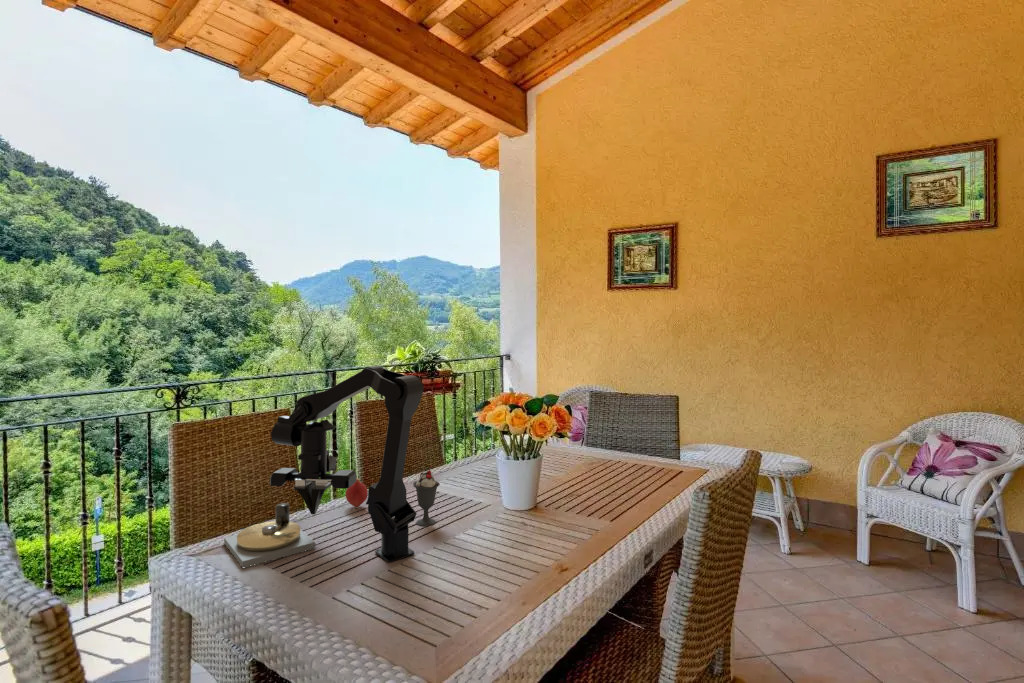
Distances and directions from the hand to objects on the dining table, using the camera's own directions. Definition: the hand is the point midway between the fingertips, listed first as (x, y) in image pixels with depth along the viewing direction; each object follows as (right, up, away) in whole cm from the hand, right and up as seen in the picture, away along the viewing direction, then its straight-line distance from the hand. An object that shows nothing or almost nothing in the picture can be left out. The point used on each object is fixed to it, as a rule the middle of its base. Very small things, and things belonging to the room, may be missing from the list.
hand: (313, 513), depth 125 cm
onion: (+4, -5, +20) cm, 21 cm away
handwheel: (-8, -4, -5) cm, 10 cm away
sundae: (+25, -6, +10) cm, 27 cm away
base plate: (-8, -6, -5) cm, 11 cm away
